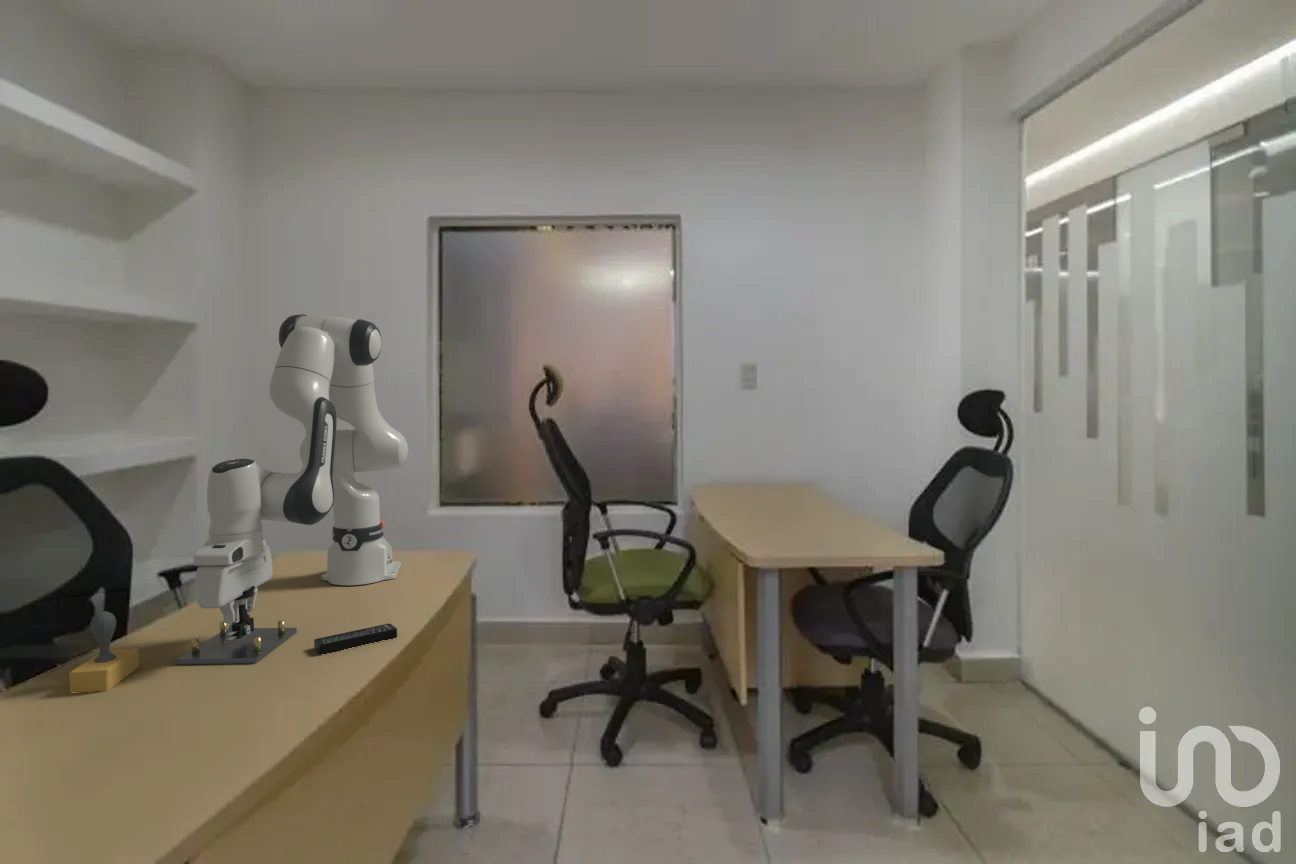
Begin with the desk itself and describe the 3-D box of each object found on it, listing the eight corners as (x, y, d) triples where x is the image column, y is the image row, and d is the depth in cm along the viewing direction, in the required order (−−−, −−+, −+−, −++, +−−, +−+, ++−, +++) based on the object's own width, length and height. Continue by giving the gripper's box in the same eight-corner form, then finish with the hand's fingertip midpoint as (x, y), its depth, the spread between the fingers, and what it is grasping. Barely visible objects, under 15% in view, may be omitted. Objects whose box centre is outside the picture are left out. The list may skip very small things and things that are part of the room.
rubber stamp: (109, 691, 115) (105, 620, 114) (68, 694, 113) (64, 622, 113) (140, 667, 124) (137, 601, 123) (103, 670, 123) (100, 603, 122)
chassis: (226, 633, 141) (225, 616, 141) (296, 632, 142) (296, 615, 142) (176, 664, 125) (175, 645, 125) (256, 663, 126) (255, 644, 126)
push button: (243, 642, 130) (240, 589, 129) (214, 642, 130) (211, 590, 129) (262, 629, 136) (260, 579, 135) (235, 629, 136) (232, 579, 135)
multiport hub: (313, 650, 133) (313, 639, 133) (390, 633, 142) (390, 622, 142) (320, 657, 130) (319, 645, 129) (397, 639, 139) (397, 628, 139)
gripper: (248, 533, 143) (251, 600, 143) (187, 558, 122) (190, 635, 123) (279, 533, 143) (282, 599, 144) (224, 558, 122) (227, 635, 123)
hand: (239, 616), depth 133 cm, fingers open, 5 cm apart
